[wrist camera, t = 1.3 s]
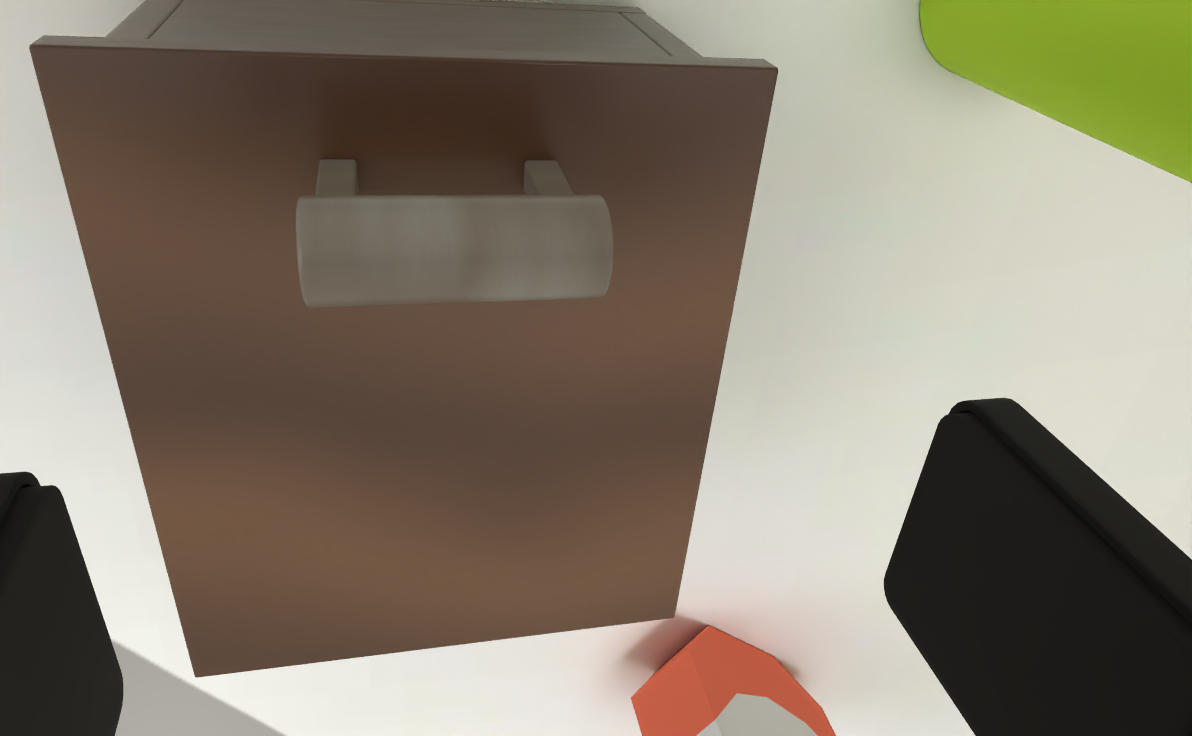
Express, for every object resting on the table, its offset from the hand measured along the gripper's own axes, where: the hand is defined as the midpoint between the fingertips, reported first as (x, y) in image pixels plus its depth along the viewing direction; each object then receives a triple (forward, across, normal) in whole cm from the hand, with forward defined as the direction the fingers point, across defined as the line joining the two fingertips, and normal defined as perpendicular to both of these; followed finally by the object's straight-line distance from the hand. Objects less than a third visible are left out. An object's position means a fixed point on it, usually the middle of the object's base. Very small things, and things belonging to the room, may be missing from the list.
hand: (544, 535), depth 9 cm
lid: (+11, 0, +6) cm, 12 cm away
